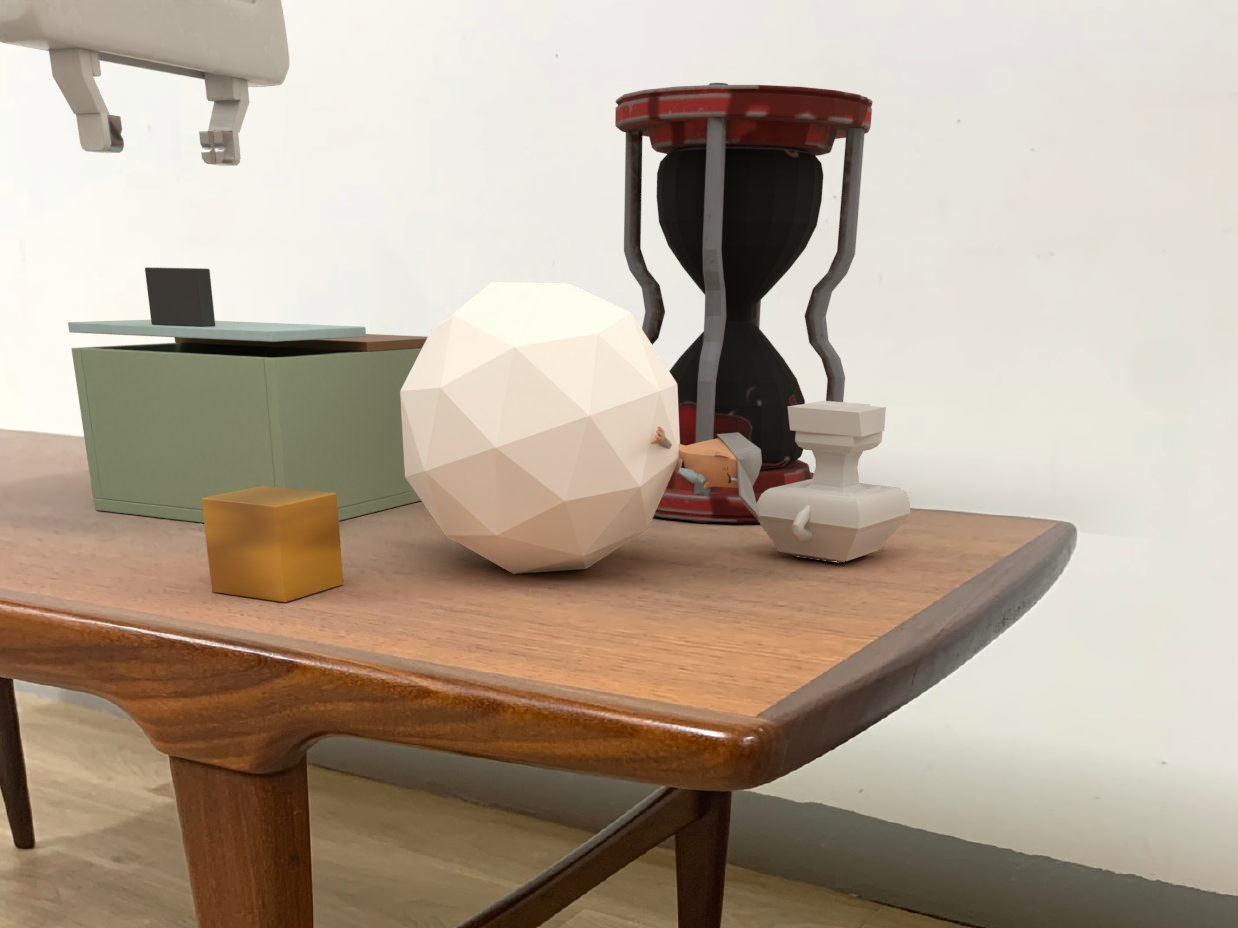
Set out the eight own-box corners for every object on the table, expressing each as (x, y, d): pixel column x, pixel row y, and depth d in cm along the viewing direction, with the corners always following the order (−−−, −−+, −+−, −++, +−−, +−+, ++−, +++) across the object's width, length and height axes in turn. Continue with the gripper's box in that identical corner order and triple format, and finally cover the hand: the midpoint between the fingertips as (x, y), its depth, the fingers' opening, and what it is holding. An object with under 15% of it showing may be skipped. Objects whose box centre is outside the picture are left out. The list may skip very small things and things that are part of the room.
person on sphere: (328, 528, 63) (726, 607, 60) (383, 207, 61) (798, 273, 58) (423, 562, 77) (749, 628, 74) (470, 303, 75) (807, 360, 72)
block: (211, 592, 64) (200, 497, 62) (272, 574, 68) (264, 485, 66) (285, 602, 62) (276, 505, 60) (343, 584, 66) (337, 492, 64)
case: (94, 510, 85) (69, 337, 80) (274, 476, 100) (261, 329, 95) (289, 533, 78) (273, 347, 74) (450, 493, 93) (444, 337, 89)
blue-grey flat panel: (68, 332, 80) (58, 265, 79) (173, 328, 88) (165, 267, 86) (272, 341, 74) (266, 269, 72) (366, 336, 81) (362, 271, 80)
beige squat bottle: (846, 577, 70) (859, 414, 66) (740, 561, 73) (748, 405, 70) (914, 552, 76) (930, 402, 73) (815, 538, 80) (825, 395, 76)
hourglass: (580, 515, 86) (581, 84, 76) (646, 482, 100) (654, 115, 90) (821, 532, 82) (855, 78, 72) (854, 494, 96) (887, 112, 86)
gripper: (219, -82, 79) (244, 172, 84) (-75, -180, 62) (-20, 145, 67) (302, -92, 76) (322, 170, 82) (19, -197, 59) (68, 142, 65)
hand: (165, 159), depth 75 cm, fingers open, 8 cm apart
